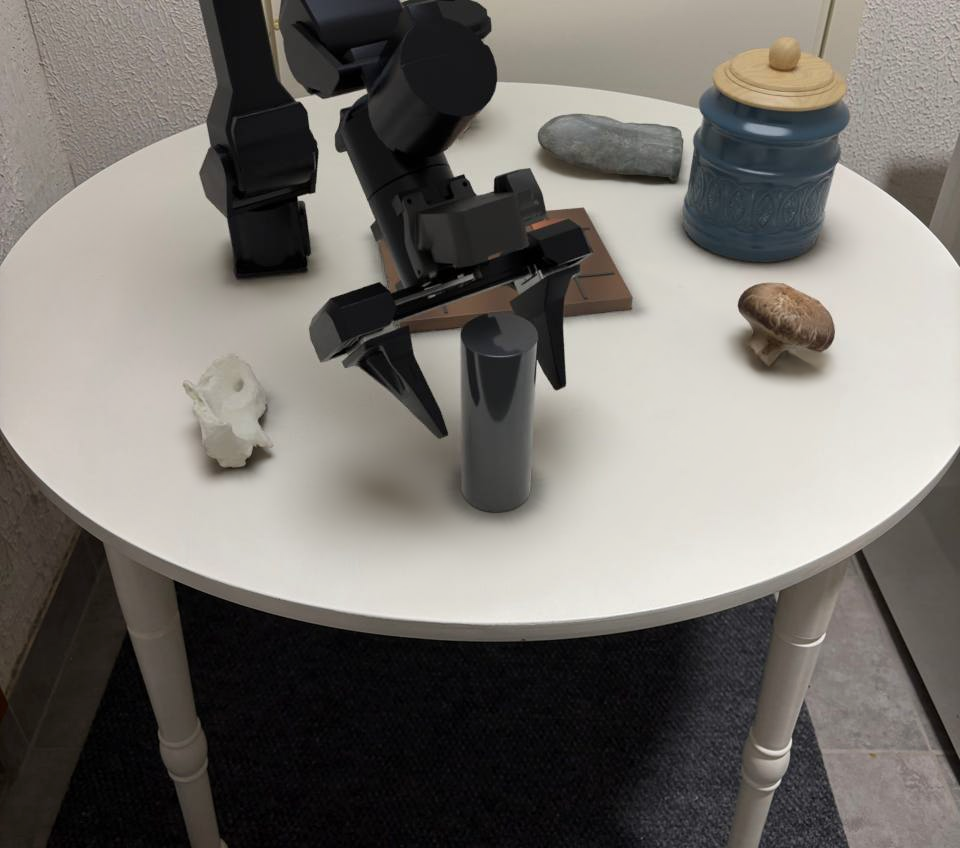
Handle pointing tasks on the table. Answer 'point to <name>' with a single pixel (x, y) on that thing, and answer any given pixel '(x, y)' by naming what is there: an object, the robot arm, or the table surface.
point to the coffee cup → (464, 15)
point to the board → (585, 292)
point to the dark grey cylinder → (497, 409)
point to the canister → (765, 154)
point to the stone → (614, 145)
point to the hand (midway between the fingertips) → (503, 412)
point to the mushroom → (784, 321)
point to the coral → (229, 410)
